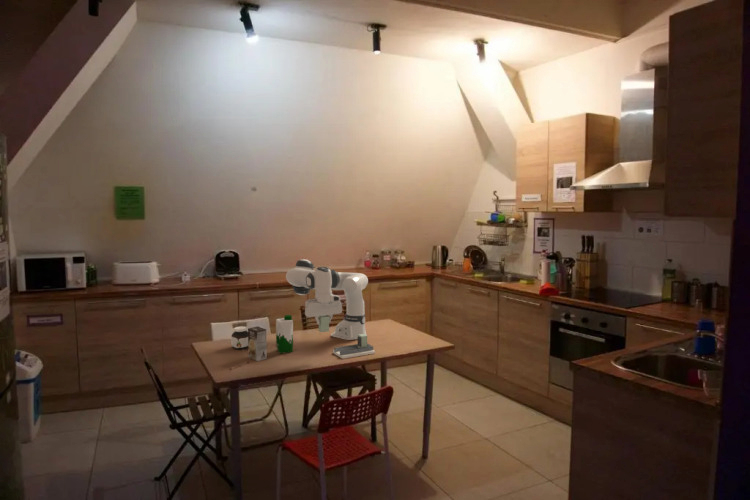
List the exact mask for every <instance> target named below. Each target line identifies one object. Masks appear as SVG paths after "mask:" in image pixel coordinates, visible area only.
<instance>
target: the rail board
mask: <svg viewBox="0 0 750 500" xmlns="http://www.w3.org/2000/svg"><path fill="white" fill-rule="evenodd" d="M332 354H334V355H335V356H337V357H339V358H340V359H342V360H343V359H349V358H356V357H361V356H363V357H364V356H369V355H375V354H376V350H374V345H372V344H370V343H368V335H365V334H359V335H358V339H357V343H355V344H349V345H343V346H337V347H333V350H332ZM368 354H369V355H368Z"/></svg>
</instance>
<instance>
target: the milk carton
mask: <svg viewBox="0 0 750 500" xmlns="http://www.w3.org/2000/svg"><path fill="white" fill-rule="evenodd" d="M292 316H293V315H292V314H285V315H284V316H283V318H282V317H281V318H275V338H276V339H275V341H276V343H275V344H276V350H277V351H278V353H279V354H287V353H293V350H294V320H293V317H292Z"/></svg>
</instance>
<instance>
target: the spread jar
mask: <svg viewBox="0 0 750 500" xmlns="http://www.w3.org/2000/svg"><path fill="white" fill-rule="evenodd" d="M233 329H234V331H233V332H232V334H231V337H230V341H231V342H230V343H231V347H232V348H233V349H235V350H246V349H248V327H247V326H235V327H234V328H233Z"/></svg>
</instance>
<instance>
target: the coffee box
mask: <svg viewBox="0 0 750 500" xmlns="http://www.w3.org/2000/svg"><path fill="white" fill-rule="evenodd" d="M247 331H248V347H247V351H248V353H247V354H248V355H247V357H248V358H249V359H251V360H254V361H255V362H259V361H264V360H267V352H268V351H267V329H266V328H262V327H260V326H253V327H247Z"/></svg>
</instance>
